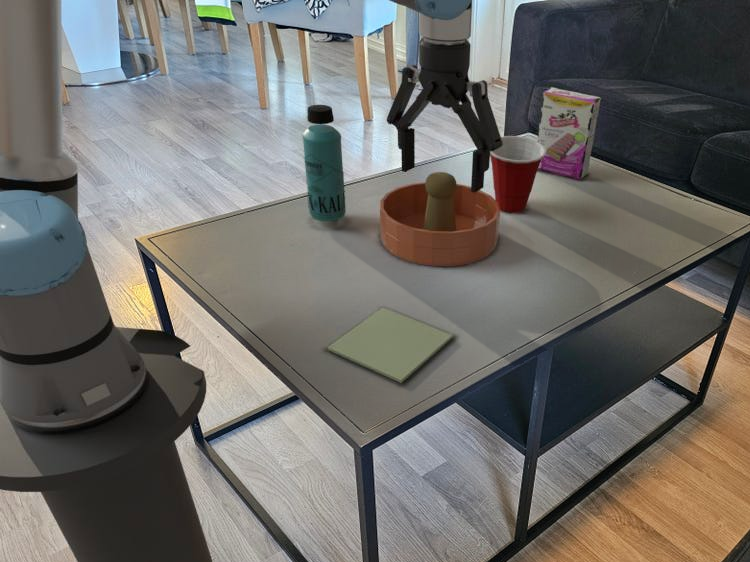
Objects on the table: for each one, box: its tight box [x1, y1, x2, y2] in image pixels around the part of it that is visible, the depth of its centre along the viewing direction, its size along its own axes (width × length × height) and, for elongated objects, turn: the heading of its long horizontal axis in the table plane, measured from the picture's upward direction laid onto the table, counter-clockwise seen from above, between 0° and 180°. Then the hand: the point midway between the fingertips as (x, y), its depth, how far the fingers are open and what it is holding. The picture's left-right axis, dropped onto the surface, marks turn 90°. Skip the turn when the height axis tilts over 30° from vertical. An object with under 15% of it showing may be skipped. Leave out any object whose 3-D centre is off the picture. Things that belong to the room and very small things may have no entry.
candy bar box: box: [536, 86, 602, 181], centre depth 136 cm, size 11×5×16 cm, turn 65°
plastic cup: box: [490, 135, 546, 214], centre depth 121 cm, size 11×11×12 cm
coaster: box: [327, 307, 454, 384], centre depth 88 cm, size 12×12×1 cm
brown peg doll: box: [423, 171, 458, 232], centre depth 110 cm, size 6×6×11 cm
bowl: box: [379, 181, 501, 267], centre depth 111 cm, size 20×20×6 cm
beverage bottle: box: [301, 104, 347, 222], centre depth 109 cm, size 6×7×20 cm
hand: (441, 179), depth 107 cm, fingers open, 13 cm apart
